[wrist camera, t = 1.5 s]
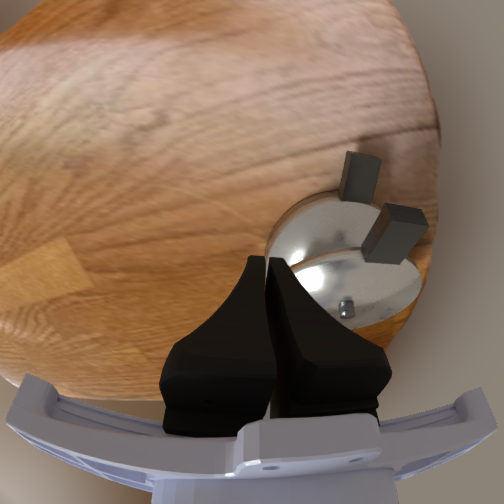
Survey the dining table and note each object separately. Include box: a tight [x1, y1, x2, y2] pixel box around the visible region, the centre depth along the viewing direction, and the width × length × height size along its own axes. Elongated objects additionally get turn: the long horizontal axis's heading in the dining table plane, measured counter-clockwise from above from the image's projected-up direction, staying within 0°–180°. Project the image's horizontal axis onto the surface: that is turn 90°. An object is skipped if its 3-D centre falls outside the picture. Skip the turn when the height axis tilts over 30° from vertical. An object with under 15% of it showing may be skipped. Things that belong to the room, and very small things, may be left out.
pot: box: [265, 151, 381, 277], centre depth 22 cm, size 17×12×3 cm
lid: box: [290, 203, 429, 330], centre depth 18 cm, size 16×12×2 cm
